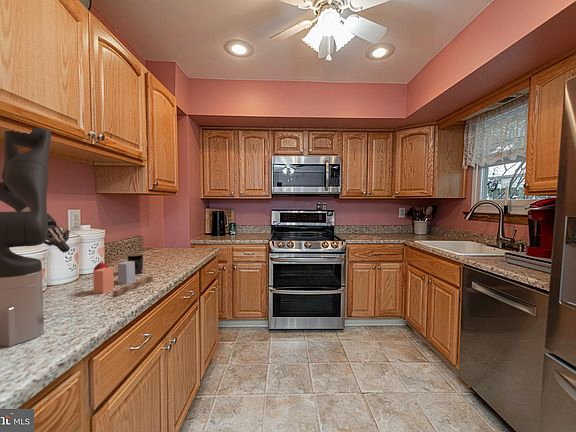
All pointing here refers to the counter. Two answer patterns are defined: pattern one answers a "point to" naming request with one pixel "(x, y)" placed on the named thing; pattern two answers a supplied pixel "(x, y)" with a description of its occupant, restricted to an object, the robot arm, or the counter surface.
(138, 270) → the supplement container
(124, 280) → the grey rectangular block
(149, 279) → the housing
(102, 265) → the onion
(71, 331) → the counter surface
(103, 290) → the orange rectangular block
